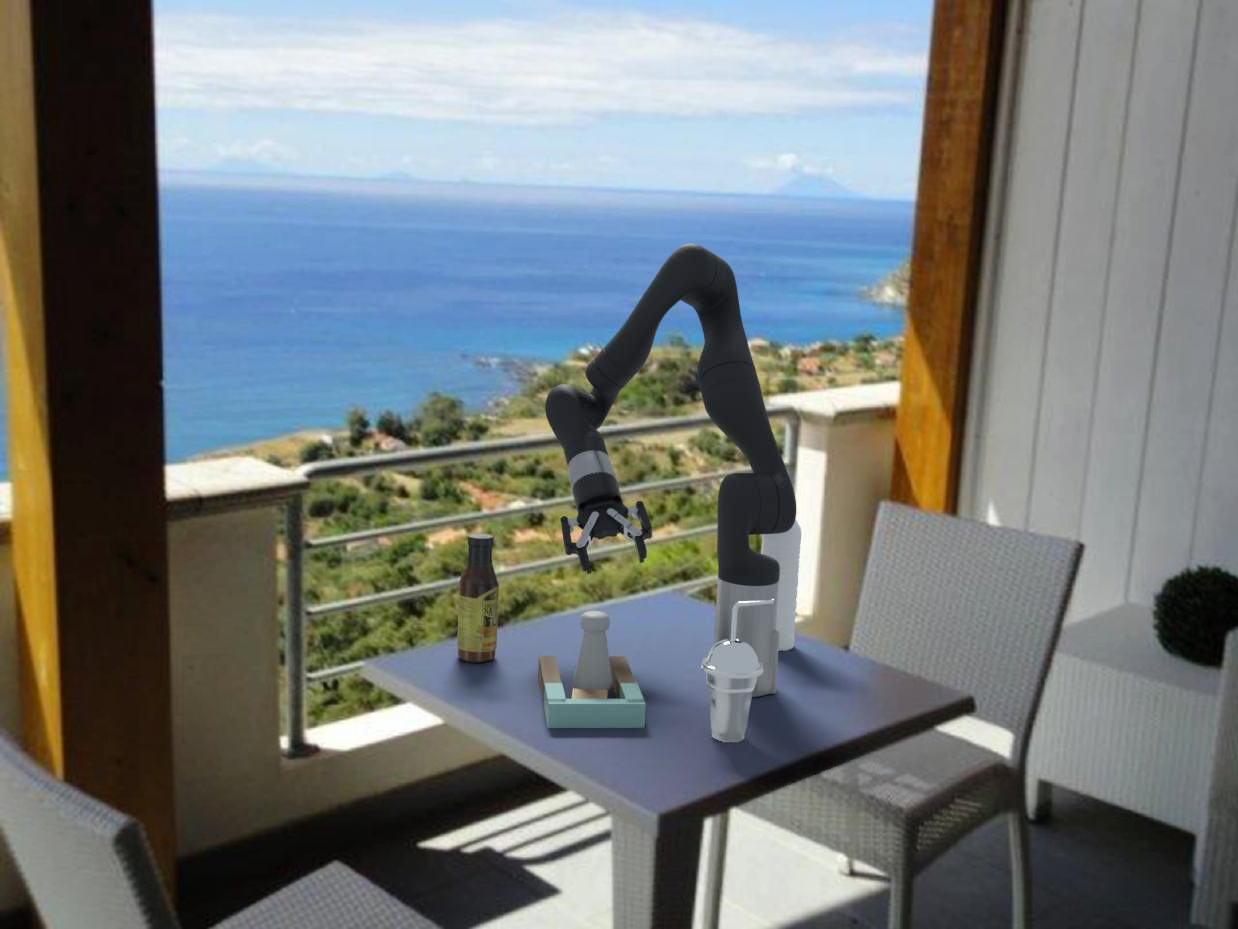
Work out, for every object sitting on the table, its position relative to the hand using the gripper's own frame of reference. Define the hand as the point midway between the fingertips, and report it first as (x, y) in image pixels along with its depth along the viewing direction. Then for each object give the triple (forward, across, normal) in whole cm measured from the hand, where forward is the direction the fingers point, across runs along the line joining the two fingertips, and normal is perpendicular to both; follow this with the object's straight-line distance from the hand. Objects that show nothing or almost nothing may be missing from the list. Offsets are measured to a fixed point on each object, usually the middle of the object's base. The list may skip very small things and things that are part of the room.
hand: (615, 565), depth 205 cm
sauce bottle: (+5, +24, -10) cm, 27 cm away
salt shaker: (+22, +8, 0) cm, 23 cm away
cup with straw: (+36, -8, +8) cm, 38 cm away
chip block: (+26, +10, +4) cm, 28 cm away
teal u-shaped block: (+27, +9, +5) cm, 29 cm away
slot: (+19, +9, -3) cm, 21 cm away
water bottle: (+9, -25, -22) cm, 34 cm away
